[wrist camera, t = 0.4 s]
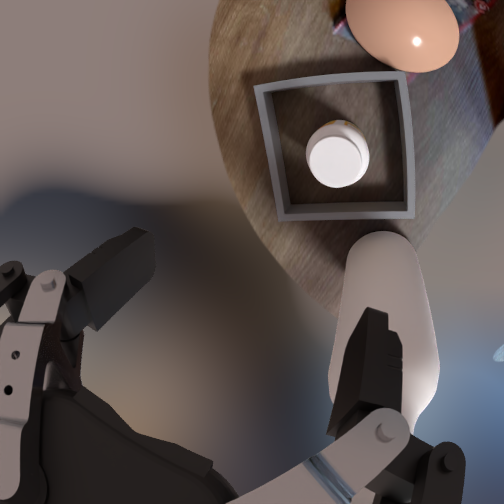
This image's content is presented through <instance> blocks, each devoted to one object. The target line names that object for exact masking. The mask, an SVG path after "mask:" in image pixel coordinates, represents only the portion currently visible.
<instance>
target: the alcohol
mask: <svg viewBox="0 0 504 504" xmlns="http://www.w3.org/2000/svg"><path fill="white" fill-rule="evenodd" d="M366 307H370V308H374V309H377V310H380V311H383V312H386V313H388V319H389V330H391V331H395V332H397V334H398V336H399V338H400V341H401V343H402V346H403V359H402V361H403V369H402V371H403V384H402V408H401V414H402V415H403V416H404V418H405V419H406V420H407V422H408V425H409V428H410V433H411V434H412V435H413V431H414V426H415V423H416V420H417V418H418V416H419V415H420V414H421V412H422V411H423V410H424V409H425V408H426V406H427V405H428V404H429V402H430V401H431V399H432V398H433V396H434V394H435V392H436V389H437V383H438V378H439V370H440V364H439V356H438V350H437V344H436V337H435V332H434V326H433V321H432V316H431V311H430V307H429V302H428V298H427V293H426V289H425V285H424V281H423V277H422V273H421V269H420V266H419V262H418V259H417V255H416V252H415V250H414V248H413V246H412V245H411V243H410V242H409V241H408V240H407V239H406V238H404V237H403V236H401V235H399V234H397V233H394V232H389V231H377V232H372V233H369V234H367V235H365V236H363V237H362V238H360V239H359V240H358V241H357V242H356V243H355V244H354V245H353V246H352V247H351V249H350V251H349V253H348V256H347V261H346V269H345V277H344V284H343V292H342V299H341V305H340V312H339V318H338V324H337V330H336V336H335V341H334V347H333V352H332V358H331V362H330V367H329V373H328V380H329V392H330V398H331V400H332V402H333V404H334V400H335V396H336V391H337V386H338V382H339V377H340V372H341V367H342V362H343V356H344V352H345V348H346V345H347V342H348V340H349V338H350V336H351V334H352V332H353V331H354V329H355V327H356V325H357V323H358V321H359V319H360V318H361V316H362V314H363V312H364V310H365V309H366ZM374 496H375V493H374V492H372V491H370V490H368V489H367V488H365V487H364V488H363V489H361V490H360V491H359V492H358V493H357V494H356V495H355V496H353V498H352V501H351V503H350V504H372V503H373V500H374Z"/></svg>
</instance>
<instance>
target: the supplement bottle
mask: <svg viewBox="0 0 504 504" xmlns="http://www.w3.org/2000/svg"><path fill="white" fill-rule="evenodd" d="M306 159H307V163H308V165H309V168H310V170H311V171H312V173H313V175H314V176H315V178H316V179H317V180H318V181H319V182H321V183H322V184H324V185H326V186H329V187H334V188H340V187H345V186H348V185H351V184H353V183H355V182H356V181H358V180H359V179H360V178H361V177H362V176H363V175H364V173H365V172H366V170H367V167H368V163H369V150H368V146H367V143H366V139H365V137H364V135H363V133H362V132H361V130H360V129H359V128H358V127H357V126H356V125H354V124H353V123H351V122H348V121H345V120H334V121H330V122H328V123H326V124H325V125H323V126H322V127H321V128H319V129H318V130H317V131H316V132H315V133H314V134H313V135H312V136H311V138H310V140H309V142H308V144H307V148H306Z"/></svg>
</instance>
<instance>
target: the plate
mask: <svg viewBox="0 0 504 504" xmlns="http://www.w3.org/2000/svg"><path fill="white" fill-rule="evenodd" d="M346 17H347V22H348V25H349V28H350V30H351V32H352V34H353V36H354V37H355V39H356V40H357V42H358V43H359V44H360V45H361V46H362V48H363V49H364V50H365V51H366V52H368V53H369V54H370V55H371V56H372V57H374V58H375V59H377V60H378V61H380V62H381V63H383V64H385V65H387V66H389V67H392V68H394V69H397V70H400V71H405V72H412V73H423V72H429V71H432V70H435V69H438V68H440V67H442V66H443V65H445V64H446V63H448V62H449V61H450V60H451V58H452V57H453V56H454V54H455V52H456V50H457V47H458V43H459V29H458V24H457V21H456V18H455V16H454V14H453V12H452V10H451V8H450V7H449V5H448V4H447V2H446V1H445V0H346Z"/></svg>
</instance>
